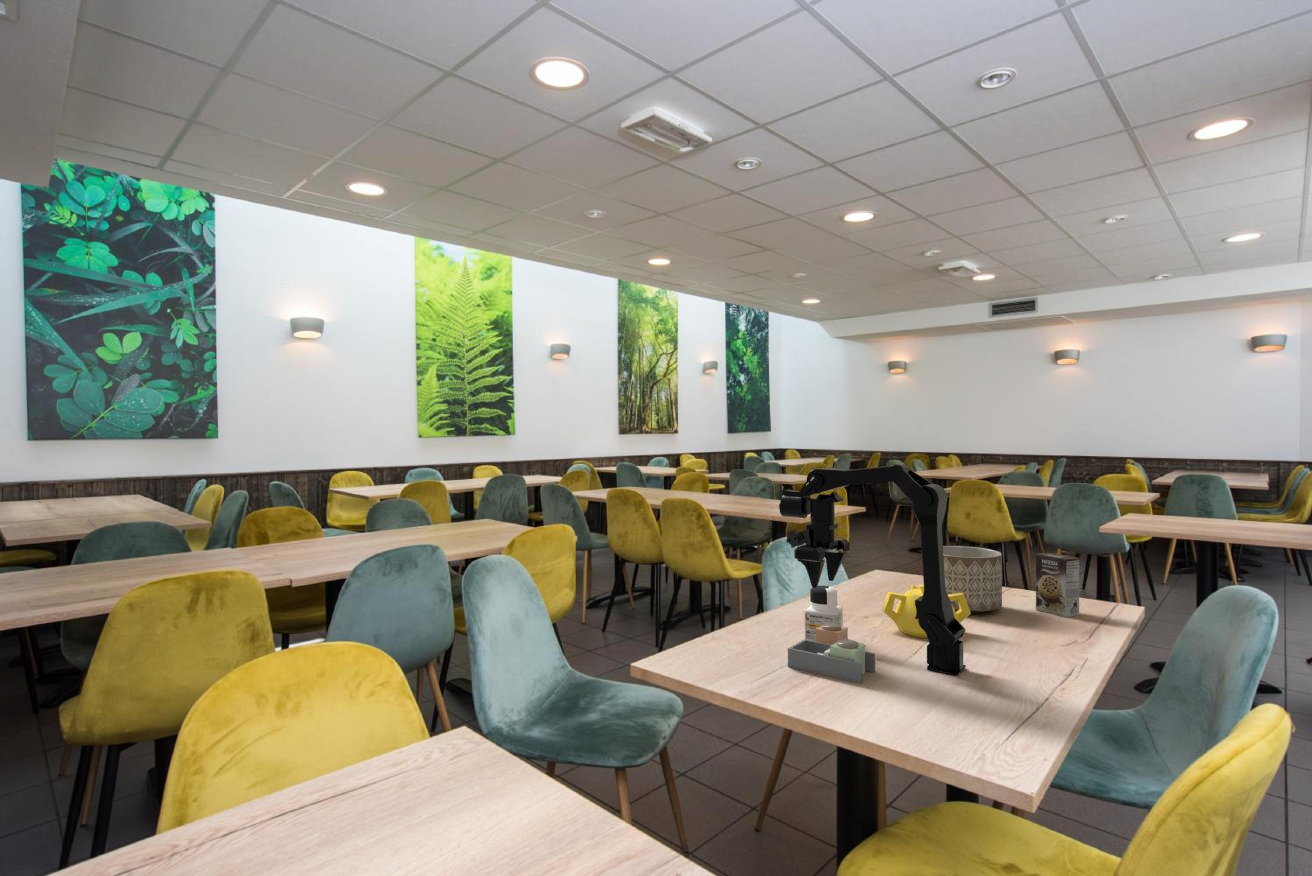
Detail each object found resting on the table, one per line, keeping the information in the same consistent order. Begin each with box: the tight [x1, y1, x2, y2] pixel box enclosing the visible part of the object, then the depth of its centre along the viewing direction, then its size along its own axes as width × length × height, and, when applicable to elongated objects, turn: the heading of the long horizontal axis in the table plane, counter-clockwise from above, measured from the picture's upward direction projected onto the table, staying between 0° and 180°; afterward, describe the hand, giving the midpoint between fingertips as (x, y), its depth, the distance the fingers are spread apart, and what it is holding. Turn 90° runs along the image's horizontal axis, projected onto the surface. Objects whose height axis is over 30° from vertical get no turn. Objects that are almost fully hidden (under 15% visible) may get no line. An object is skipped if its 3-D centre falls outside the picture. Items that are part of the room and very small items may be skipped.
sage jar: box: [830, 639, 866, 675], centre depth 144 cm, size 6×6×7 cm
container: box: [804, 585, 844, 642], centre depth 167 cm, size 8×8×13 cm
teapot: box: [881, 583, 972, 639], centre depth 173 cm, size 17×17×12 cm
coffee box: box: [1035, 552, 1081, 618], centre depth 190 cm, size 9×6×16 cm
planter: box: [943, 545, 1003, 614], centre depth 196 cm, size 19×19×16 cm
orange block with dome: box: [815, 623, 849, 645], centre depth 157 cm, size 6×6×7 cm
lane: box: [787, 638, 876, 684], centre depth 146 cm, size 16×8×4 cm, turn 52°
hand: (822, 584), depth 163 cm, fingers open, 9 cm apart
